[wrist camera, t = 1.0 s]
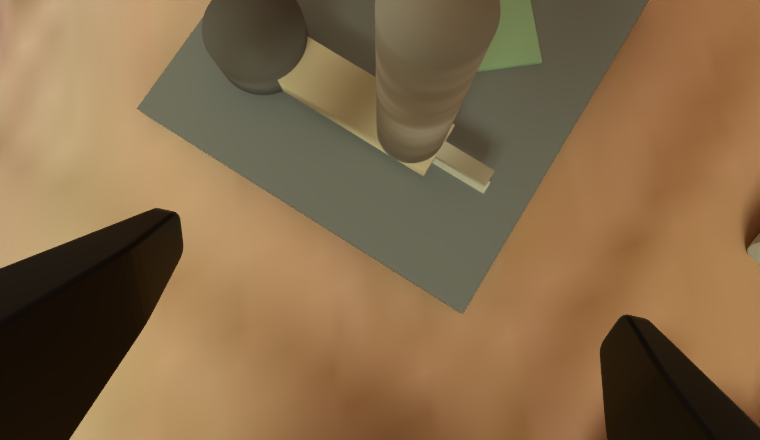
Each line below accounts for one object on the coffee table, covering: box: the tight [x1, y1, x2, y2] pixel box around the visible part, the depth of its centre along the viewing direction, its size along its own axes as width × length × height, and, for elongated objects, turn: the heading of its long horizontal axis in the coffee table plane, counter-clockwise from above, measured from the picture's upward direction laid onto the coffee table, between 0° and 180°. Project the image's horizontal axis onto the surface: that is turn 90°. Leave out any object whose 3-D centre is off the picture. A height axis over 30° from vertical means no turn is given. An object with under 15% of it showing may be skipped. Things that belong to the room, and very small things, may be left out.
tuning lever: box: [202, 0, 501, 187], centre depth 16 cm, size 14×4×10 cm, turn 58°
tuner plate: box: [137, 0, 649, 314], centre depth 22 cm, size 18×18×1 cm
